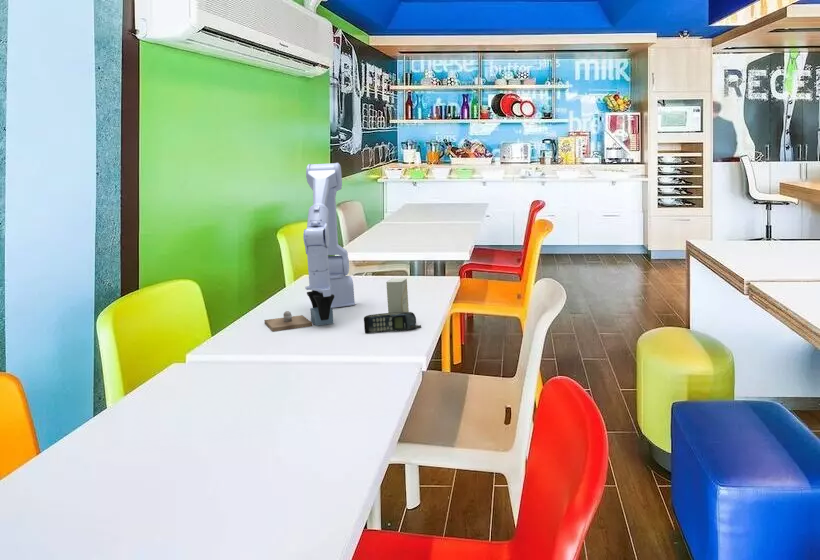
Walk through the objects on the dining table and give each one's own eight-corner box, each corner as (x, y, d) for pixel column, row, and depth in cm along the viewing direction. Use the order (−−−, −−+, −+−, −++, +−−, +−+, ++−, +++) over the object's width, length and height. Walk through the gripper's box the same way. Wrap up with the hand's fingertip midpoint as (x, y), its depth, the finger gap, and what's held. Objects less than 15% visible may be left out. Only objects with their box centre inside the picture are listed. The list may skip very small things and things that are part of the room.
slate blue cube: (328, 319, 211) (327, 306, 210) (333, 323, 206) (332, 309, 205) (311, 322, 209) (310, 308, 208) (316, 325, 204) (315, 311, 203)
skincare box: (404, 326, 199) (401, 281, 196) (388, 326, 200) (385, 281, 198) (409, 321, 205) (407, 277, 203) (394, 320, 206) (391, 277, 204)
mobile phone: (363, 316, 192) (420, 311, 193) (363, 314, 195) (419, 308, 196) (365, 335, 193) (422, 329, 194) (364, 332, 196) (420, 327, 197)
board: (302, 318, 214) (301, 305, 213) (312, 326, 204) (311, 312, 203) (264, 323, 210) (263, 310, 209) (272, 331, 200) (271, 317, 199)
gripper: (298, 268, 210) (301, 314, 212) (311, 275, 197) (314, 324, 199) (322, 265, 213) (325, 311, 215) (336, 272, 199) (340, 321, 202)
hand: (321, 317), depth 207 cm, fingers closed on slate blue cube, 5 cm apart
